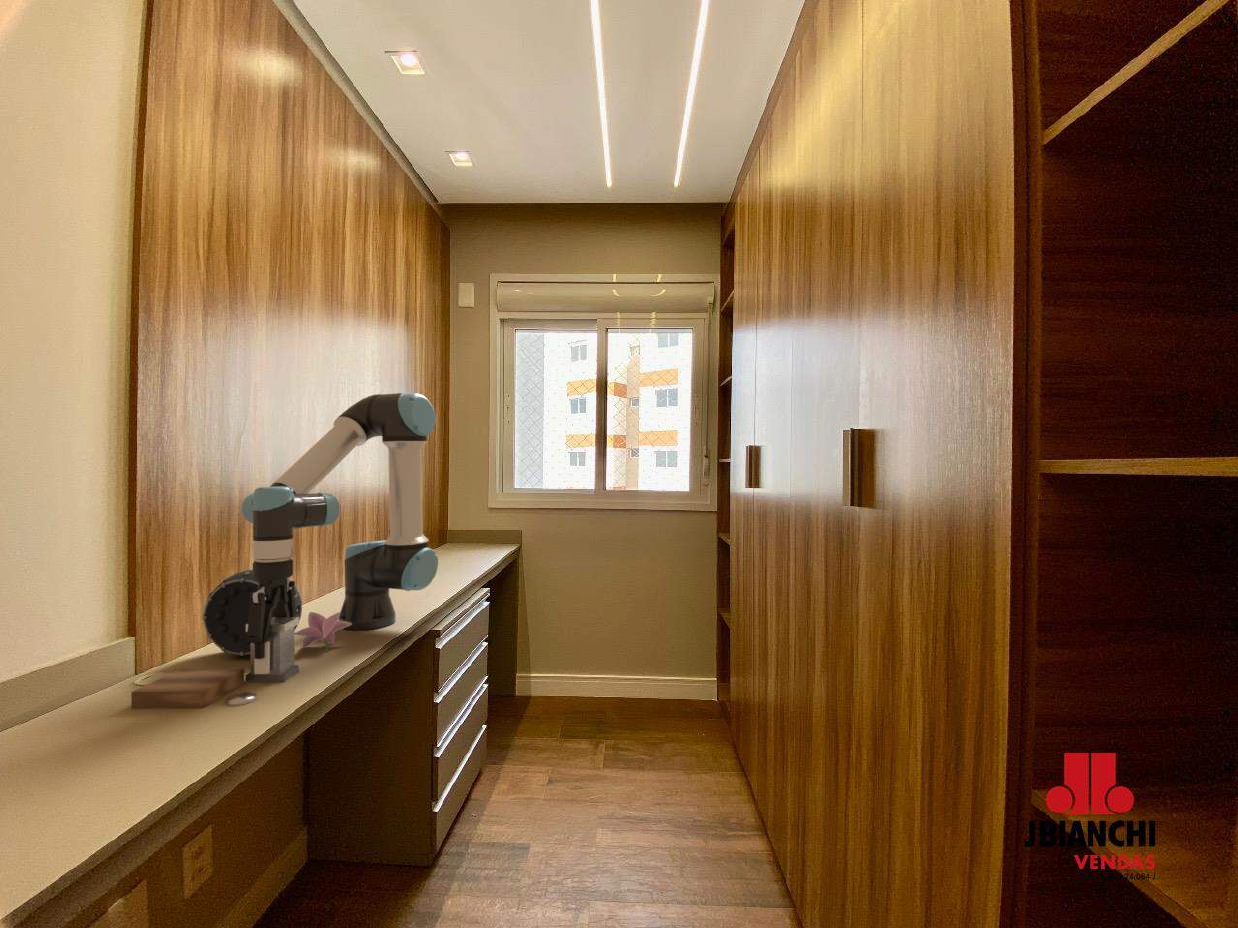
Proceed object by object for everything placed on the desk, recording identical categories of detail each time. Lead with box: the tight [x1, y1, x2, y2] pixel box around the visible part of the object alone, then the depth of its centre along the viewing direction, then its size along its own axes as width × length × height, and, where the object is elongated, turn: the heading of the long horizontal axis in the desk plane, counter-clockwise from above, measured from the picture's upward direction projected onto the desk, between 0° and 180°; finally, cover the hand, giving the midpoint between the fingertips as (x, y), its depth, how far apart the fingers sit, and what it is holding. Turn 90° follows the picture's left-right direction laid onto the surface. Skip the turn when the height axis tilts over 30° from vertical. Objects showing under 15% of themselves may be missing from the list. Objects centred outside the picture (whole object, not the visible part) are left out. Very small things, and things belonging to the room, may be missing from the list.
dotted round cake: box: [201, 569, 303, 659], centre depth 146 cm, size 11×20×20 cm, turn 92°
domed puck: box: [225, 691, 258, 707], centre depth 117 cm, size 5×5×1 cm
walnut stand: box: [130, 667, 245, 709], centre depth 120 cm, size 13×13×3 cm
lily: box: [294, 611, 352, 653], centre depth 150 cm, size 12×12×10 cm
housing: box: [245, 617, 300, 683], centre depth 130 cm, size 6×8×12 cm
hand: (272, 666), depth 130 cm, fingers open, 8 cm apart
